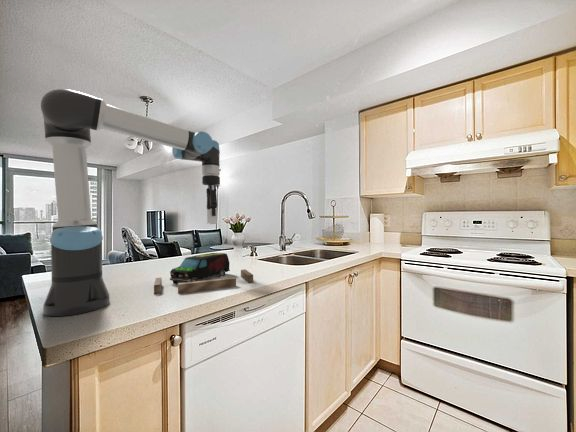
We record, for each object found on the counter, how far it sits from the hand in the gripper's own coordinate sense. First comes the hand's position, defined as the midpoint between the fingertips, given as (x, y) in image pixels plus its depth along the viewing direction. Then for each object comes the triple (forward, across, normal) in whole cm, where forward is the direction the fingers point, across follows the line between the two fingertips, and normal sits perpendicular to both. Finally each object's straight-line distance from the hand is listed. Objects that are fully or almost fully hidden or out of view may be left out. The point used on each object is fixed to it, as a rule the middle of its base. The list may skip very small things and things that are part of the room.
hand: (211, 223), depth 117 cm
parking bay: (+23, -15, +4) cm, 28 cm away
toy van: (+23, -4, +5) cm, 24 cm away
